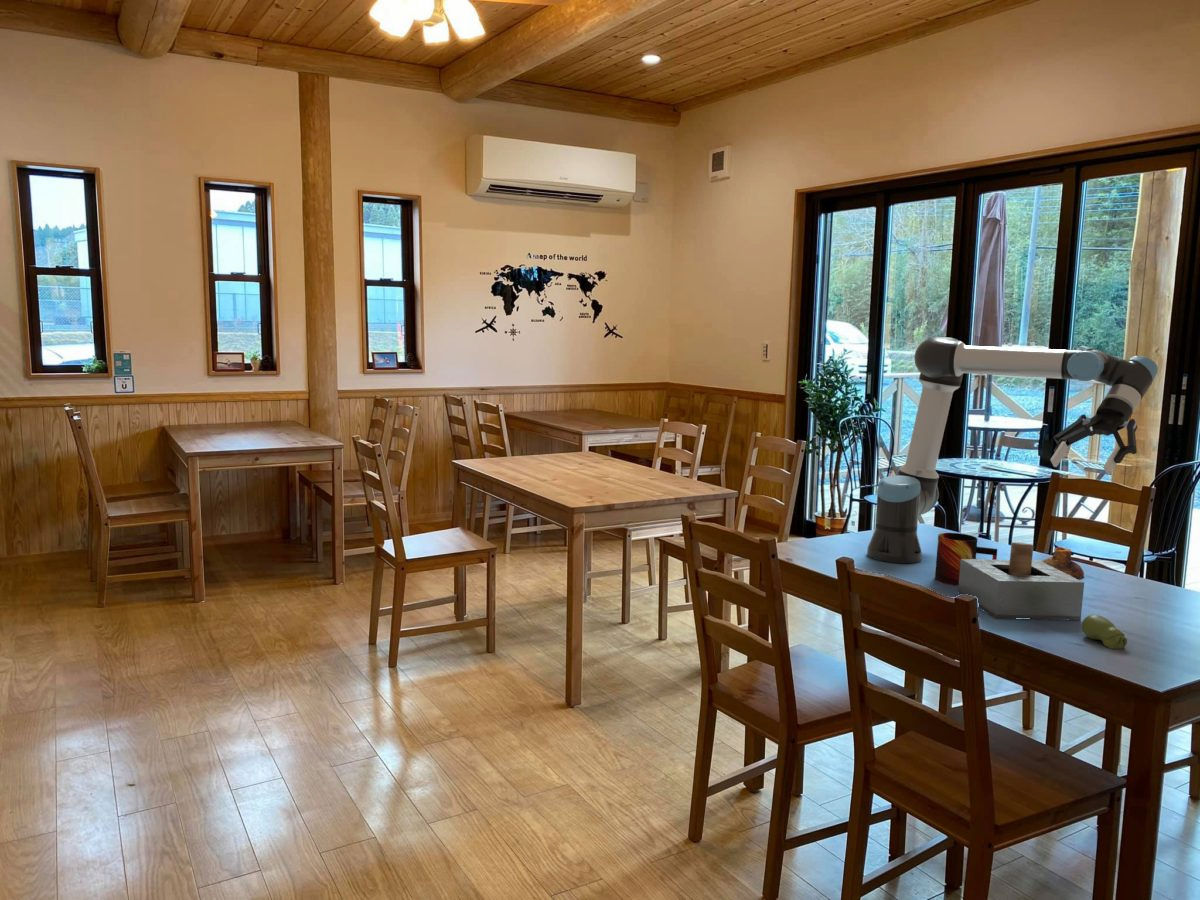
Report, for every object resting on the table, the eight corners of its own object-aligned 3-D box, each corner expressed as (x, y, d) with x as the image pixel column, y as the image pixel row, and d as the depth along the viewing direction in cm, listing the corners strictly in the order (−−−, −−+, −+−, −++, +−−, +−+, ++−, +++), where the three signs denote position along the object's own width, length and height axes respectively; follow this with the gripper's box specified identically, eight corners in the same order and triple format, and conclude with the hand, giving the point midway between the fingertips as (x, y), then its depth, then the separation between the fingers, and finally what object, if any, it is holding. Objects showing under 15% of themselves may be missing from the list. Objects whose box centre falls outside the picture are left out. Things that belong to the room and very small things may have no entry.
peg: (1002, 598, 217) (1007, 541, 216) (1020, 599, 218) (1026, 542, 217) (1012, 603, 212) (1018, 545, 212) (1031, 604, 213) (1037, 546, 212)
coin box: (957, 593, 225) (960, 558, 223) (1035, 595, 225) (1039, 560, 224) (995, 618, 205) (998, 580, 204) (1080, 620, 205) (1084, 582, 204)
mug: (996, 586, 232) (999, 541, 231) (943, 585, 232) (946, 540, 231) (980, 577, 242) (983, 533, 240) (929, 575, 242) (932, 532, 240)
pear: (1099, 610, 195) (1136, 632, 186) (1094, 631, 196) (1130, 654, 187) (1078, 611, 193) (1115, 633, 184) (1073, 633, 195) (1109, 656, 186)
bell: (1074, 582, 240) (1076, 555, 239) (1028, 572, 249) (1031, 547, 248) (1090, 575, 248) (1093, 549, 247) (1046, 566, 257) (1048, 541, 256)
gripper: (1173, 420, 220) (1135, 484, 214) (1075, 412, 241) (1037, 469, 235) (1165, 399, 217) (1125, 463, 211) (1066, 392, 238) (1027, 450, 232)
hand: (1079, 467), depth 223 cm, fingers open, 13 cm apart
